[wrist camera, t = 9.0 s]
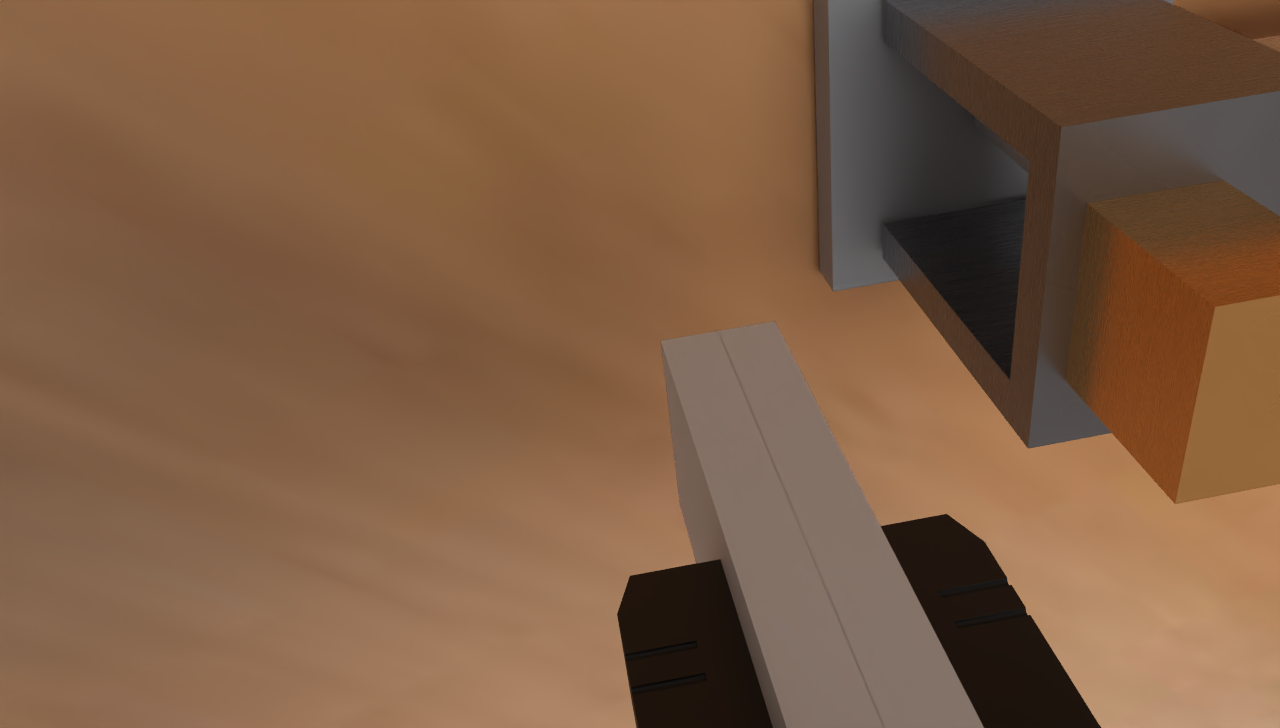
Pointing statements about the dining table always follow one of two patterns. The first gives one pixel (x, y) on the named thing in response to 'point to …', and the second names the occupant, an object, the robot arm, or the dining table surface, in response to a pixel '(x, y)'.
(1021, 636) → the robot arm
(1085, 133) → the collar
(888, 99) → the stand
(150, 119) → the dining table surface
